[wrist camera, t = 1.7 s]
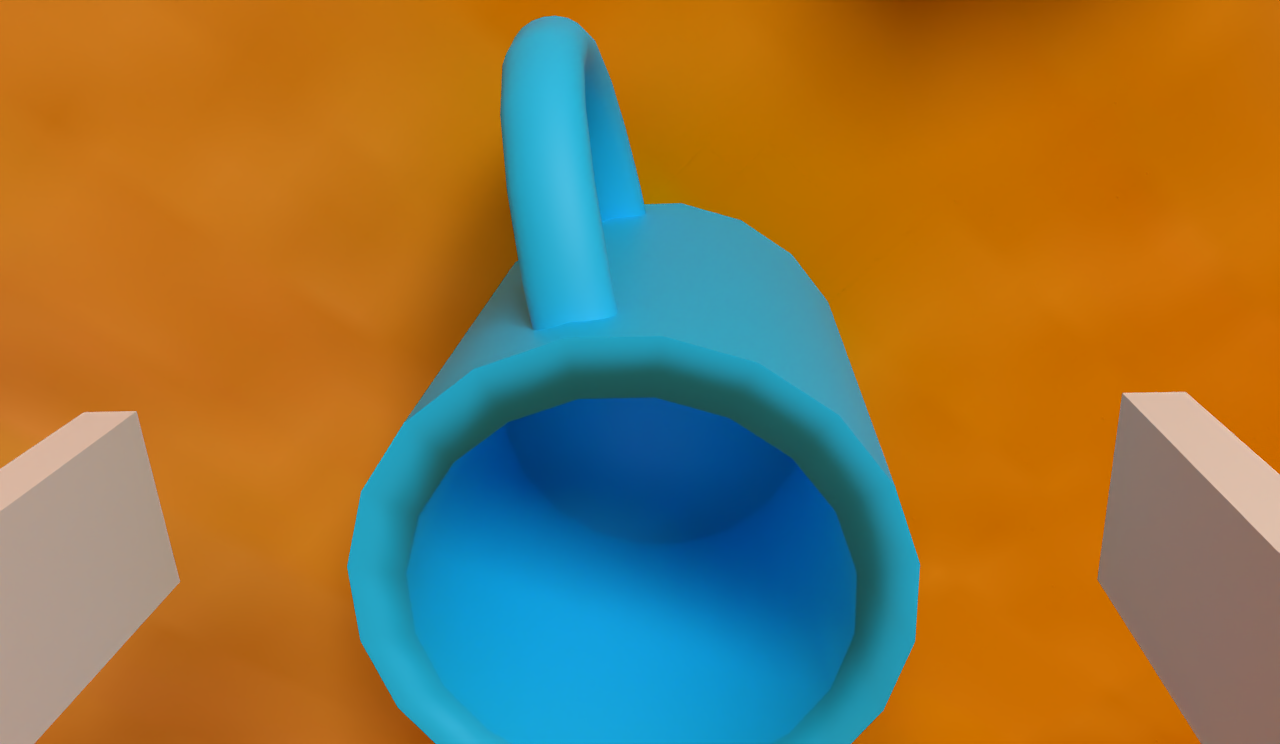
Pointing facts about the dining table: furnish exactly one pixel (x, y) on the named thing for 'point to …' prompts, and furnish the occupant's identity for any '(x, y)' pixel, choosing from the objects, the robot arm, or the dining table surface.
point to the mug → (633, 473)
